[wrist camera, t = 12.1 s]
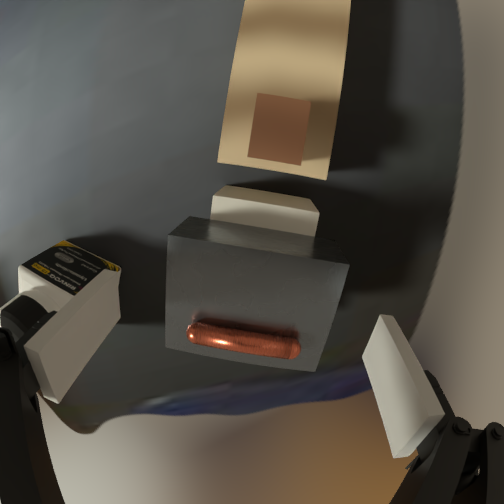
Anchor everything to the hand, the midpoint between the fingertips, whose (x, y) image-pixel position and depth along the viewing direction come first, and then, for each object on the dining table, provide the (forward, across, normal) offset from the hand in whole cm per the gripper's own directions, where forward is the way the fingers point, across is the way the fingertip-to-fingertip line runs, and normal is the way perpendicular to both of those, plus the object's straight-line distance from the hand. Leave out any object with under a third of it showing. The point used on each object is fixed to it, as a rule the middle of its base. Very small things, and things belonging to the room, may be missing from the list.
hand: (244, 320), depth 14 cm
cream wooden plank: (+11, 0, +16) cm, 20 cm away
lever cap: (+5, 0, 0) cm, 5 cm away
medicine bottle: (+11, -16, -7) cm, 20 cm away
